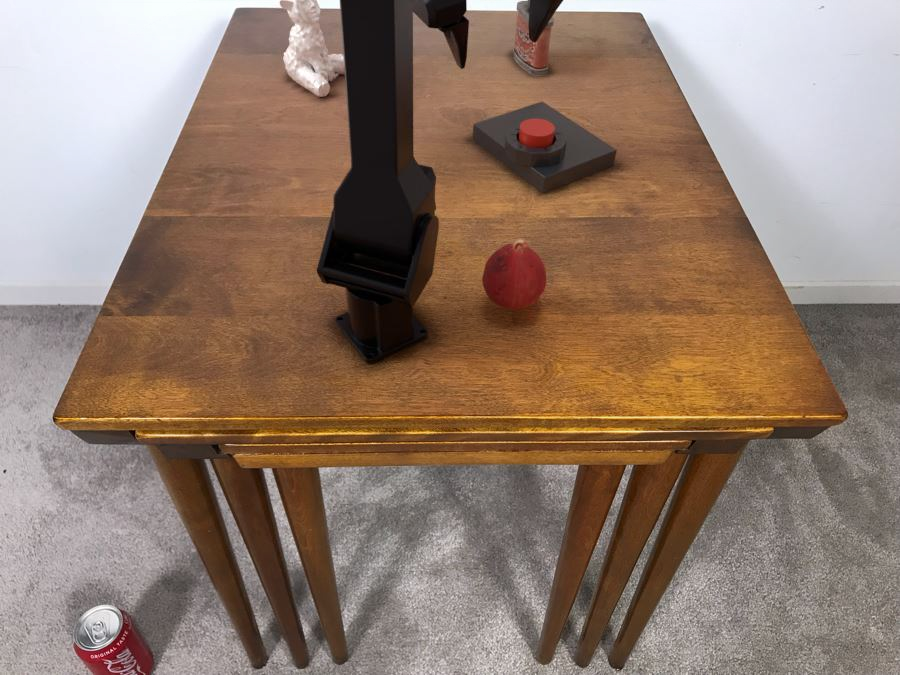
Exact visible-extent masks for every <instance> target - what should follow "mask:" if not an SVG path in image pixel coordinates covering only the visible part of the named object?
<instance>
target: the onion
mask: <svg viewBox="0 0 900 675" xmlns="http://www.w3.org/2000/svg"><path fill="white" fill-rule="evenodd" d="M481 280H482V287H483V289H484V292H485V294H486V296H487V297H488V299H489V300H490V301H491V302H492V303H494V304H495V305H496V306H498V307H500V308H502V309H503V308H504V309H506V310H520V309H526V308H528V307H529V306H531V305H533V304H535V303H536V302H537V301H538V300H539V299H540V297H541V296H542V295H543V294H544V292H545V289H546V285H547V269H546V267H545V264H544V262H543V260H542V259H541V257H540V255H539V253H537V252H536V251H535V250H533V249H532V248H531V247H529V246H528V244H527V242H526V240H525V239H523V238H518V239H516V240H514V241H513V243H507V244H505V245H502V246H501V247H500V248H497V249H496V250H495V251H494V252H493V253H492V254H491V255H490V256H489V257H488V258H487V260H486V262H485V265H484V270H483V274H482V278H481Z"/></svg>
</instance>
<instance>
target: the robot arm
mask: <svg viewBox="0 0 900 675" xmlns="http://www.w3.org/2000/svg"><path fill="white" fill-rule="evenodd" d="M467 2H468V0H339V10H340V25H341V40H342V51H343V53H342V55H343V56H344V68H345V74H344V81H345V94H346V108H347V122H348V123H347V125H348V134H349V136H348V137H349V138H348V139H349V150H350V168H349V170H348V171H347V173H346V174H345V176H344V178H343V179H342V180H341V181H342V182H340V184H339V186H338V187H337V189H336V190H335V192H334V193H333V208H332V210H331V214H330V219H329V222H328V226H327V229H326V234H325V237H324V241H323V245H322V247H321V248H322V249H321V252H320V255H319V256H320V257H319V260H318V263H317V267H316V274H317V275H318V278H319V279H320V281H321V283H322V284H325V285H334V286H336V287H341V288H345V296H346V305H347V311H346V312H344V313H341V314H339V315H337V316H335V318H334V323H335V325H336V326H337V328H338V329H339V330H340V332H341V333H342V334H343V335H344V336H345V338H346V339H347V340H348V342H349V343H350V344H351V345H352V347H353V348H354V349H355V351H356V352H357V353H358V354H359V355H360V357H361V358H362V359H363V360H364V362H366V364H372V363H375V362H378V361H379V360H381V359H383V358H386V357H388V356H390V355H392V354H394V353H397V352H399V351H401V350H403V349H406V348H408V347H410V346H412V345H414V344H416V343H419V342H420V341H423V340H425V339H427V338H428V337H429V330H428V329H427V328H426V326H425V325H424V324H423V323H422V322H421V321H420V320H419V319H418V317H416V316H415V314H414V306H415V305H416V303H417V302H418V300H419V298H420V296H421V294H422V293H423V291H424V290H425V288H426V286H427V285H428V283H429V281H430V279H431V278H432V276H433V273H434V264H435V260H436V251H437V244H438V237H439V229H440V222H439V217H438V216H437V215H436V210H437V203H436V187H437V186H436V185H437V176H436V174H435V171H434V169H433V167H432V166H427V165H423V164H419V163H418V161H417V160H416V158H415V155H414V154H415V153H414V15H415V16H417V17H418V18H419V19H420V21H421V22H423V24H424V25H425V26H426V27H427V28H429V29H435V30H438V31H439V32H441V33H443V35H444V38H445V40H446V42H447V45H448V47H449V50H450V52H451V55H452V56H453V59H454V61H455V63H456V66H457V67H458V68H459V69H461V70H463V69H465V67H466V63H467V59H468V45H469V44H468V42H469V32H470V31H469V28H470V20H469V19H468V18H467V17H466V16H465V14H466V12H467V10H468V9H467V7H468V6H467V5H468V4H467ZM563 2H564V0H530V6H529V22H528V30H529V39H530V40H531V41H532V42H537V40H538V39H539V37H540V36H541V34H542V32H543V31H544V29H545V27H546V26H547V24H548V23H549V21H550V19H551V18H552V17H553V16H554V15H555V13H556V12H557V11H558V9H559V7H560V6H561V5H562V4H563Z"/></svg>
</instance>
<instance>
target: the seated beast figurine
mask: <svg viewBox="0 0 900 675" xmlns="http://www.w3.org/2000/svg"><path fill="white" fill-rule="evenodd" d="M279 6H280V8H282V9H283V10H286V12H287V14H288V16H289V18H290V20H291V21H292V23H294V25H293V26H292V27H290V28H291V29H290V31H289V37H288V42H289V45H288V46H287V48H286V51H285V52H283V57H282V60H283V62H284V70H286V73H287V74H288V76H289V77H290V78H291V79H292V81H293V82H295V83H296V84H298V85H299V86H301V87H302V88H304V89H306V90H308V91H309V92H310V93H312V94H314V95H315V96H317V97H318V98H323V97H327V95H329V93H330V90H331V86H330V83H329V82H333V81H334V80H336V78H337V77H338V76H339V75H345V68H344V54H343V53H332V54H329V49H328V48H327V47H326V41H325V37H324V33H323V31H322V29H321V28H320V26H321V25H320V23H319V22H320V20H321V19H320V15H321V11H322V10H321V7H320V4H319V3H318V0H279Z"/></svg>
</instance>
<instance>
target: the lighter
mask: <svg viewBox="0 0 900 675" xmlns="http://www.w3.org/2000/svg"><path fill="white" fill-rule="evenodd" d="M529 6H530V0H520V1H518V2H516V11H517V16H516V26H515V39H514V48H513V49H512V57H513V59H514V61H515V62H516V63H517V65H518V66H519V67H521V68H522V69H523V70H524V71H526V72H527V73H529V75H532V76H537V77H538V76H545V75H548V71H549V64H548V60H549V59H548V58H549V52H550V43H551V36H552V27H554V22H555V19H554V17H553V16H552V18H551V19H550V21H549V23H548V24H547V26H546V27H545V29H544V31H543V32H542V34H541V36H540V37H539V39H538V40H537V42H532V41H531V40H530V39H529V30H528V22H529Z"/></svg>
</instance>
